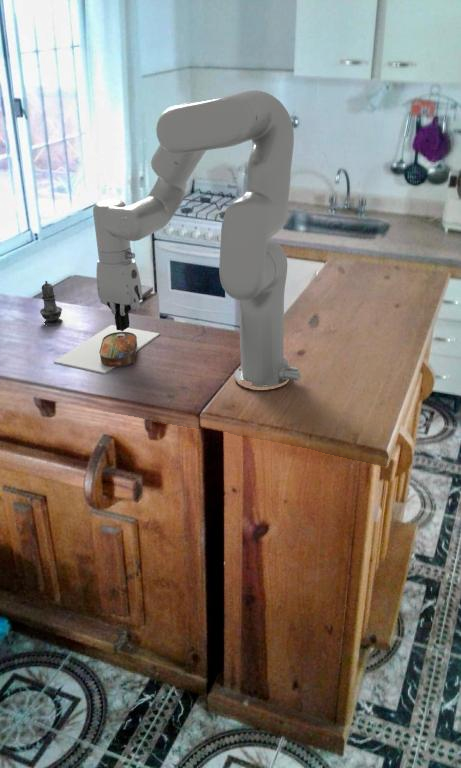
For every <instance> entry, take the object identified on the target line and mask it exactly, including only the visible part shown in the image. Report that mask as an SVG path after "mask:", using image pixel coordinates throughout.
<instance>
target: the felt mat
mask: <svg viewBox="0 0 461 768" xmlns="http://www.w3.org/2000/svg"><path fill="white" fill-rule="evenodd" d="M116 332H130V333H133V334H135V335H136V337H137V349H136V352H138V351H140V349H142V348H144V346H146V345H147V344H149V343H150V342H152V341H153V340H154V339H156V338H157V337H159V336H160V332H159V333H158V332H152V331H148V330H142V329H137V328H131V327H128V328H127V329H125V330H124V331H120V330H117V329H116V324H114V325H113V324H111V325H108V326H107V327H106V328H104V329H103V330H101V331H99V332H98V333H96V334H95V335H93V336H91V337H90V338H89V339H86V340H85V341H83V342H82V343H80V344H79V345H77V346H75V348H73V349H71V350H69V351H68V352H66V353H64V354H63V355H62V356H60V357H58V358H56V359H55V360H53V363H54V364H57V365H63V366H67V367H70V368H75V369H76V368H77V369H81V370H85V371H89V372H90V371H91V372H96V373H100V374H107V373H109V372H110V371H111V370H114V368H116V367H117V366H111V367H109V366H105V365H104V364H102V362H101V358H100V353H99V352H100V348H101V344H102V340H103V338H104V337H105V336H107V335H109V334H111V333H116Z"/></svg>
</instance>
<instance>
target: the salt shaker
mask: <svg viewBox="0 0 461 768" xmlns="http://www.w3.org/2000/svg"><path fill="white" fill-rule="evenodd" d="M41 293H42V297H41V299H42V300H43V308H41V309H40V311H39V313H40V314H41V316H42V318H43V319H44V321H45V322H44V321H43V322H44V323H45V325H47V326H46V327H57V326H60V325H62V324H63V322H64V321H63V319H62V318H61V315H62V311H63V308H62V307H60V306H58V305H57V303H56V295H55V294H54V293H55V292H54V287H53V284H51V283H49V282H48V281H47V280H45V282H44V283H43V284H42V286H41ZM45 325H44V326H45Z"/></svg>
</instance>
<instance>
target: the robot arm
mask: <svg viewBox="0 0 461 768" xmlns="http://www.w3.org/2000/svg"><path fill="white" fill-rule="evenodd" d="M155 130H156V137H157V140H158V143H159V145H158V147H157V149H156V151H154V154H153V155H152V157H151V161H150V164H151V166H150V167H151V169H152V170H153V172H154V173H155V175H156V176H157V180H156V181H155V184H154V185H153V187H152V189H151V190H150V192H149V194H148V195H147V197H145V198H144V199H141V200H139V201H137V202H133V203H131V204H129V205H127V204H125V202H124V201H122V200H119V199H113V198H112V199H103V200H100V201H97V202H95V204H94V205H93V207H92V215H93V222H94V229H95V231H94V232H95V238H96V245H97V246H96V248H97V254H98V255H97V257H98V260H97V263H96V289H97V290H96V291H97V295H98V298H99V299H100V303H101V304H102V305H104V306H107V307H108V308H109V309H110V310H111V314H113V315H114V322H115V324H114V325H115V326H116V329H117V330H120V331H124V330H125V329H127V328H130V316H129V313H131V311H132V310H138V309H139V308H141V303H140V300H142V298H143V288H142V282H141V276H140V272H139V267H138V265H137V262H136V260H135V258H136V253H135V252H132V248H131V242H138V241H140V240H142V239H144V238H146V237H149V236H150V235H152V234H154V233H156V232H159V231H161V230H162V229H163V228H165V227H166V226H167V225H168V224H169V223H170V221H171V220H172V219H173V217H174V215H175V214H176V213H177V211H178V209H179V208H180V206H181V204H182V202H183V201H184V198H185V196H186V191H187V185H188V184H187V183H188V180H189V179H190V177H191V176H192V174H193V172H194V171H195V169H196V168H197V165H198V164H199V162H200V161H201V159H202V158H203V156H205V153H206V152H207V151H210V150H218V149H224V148H225V149H226V148H231V147H234V146H237V145H241V144H243V143H246V142H249V141H251V142H252V144H251V145H252V146H251V151H250V154H249V159H248V162H247V167H246V183H245V190H244V194H243V195H242V196H241V197H239V198H237V199H235V200H234V201H233V202H232V203H230V205H229V206H228V207H227V209H226V211H225V213H224V215H223V218H222V223H221V231H220V248H219V249H220V250H219V267H218V268H219V269H218V271H219V272H218V273H219V280H220V284H221V286H222V288H223V290H224V292H225V293H226V294H227V295H228V296H229V298H232V299H234V300H236V301H239V302H238V303H239V308H238V311H239V313H238V314H239V342H240V343H239V344H240V345H239V348H240V366H239V367H238V368H237V369H236V370H235V371H234V374H233V375H234V377H235V379H237V381H239V382H241V381H240V380H246V381H249V382H252V385H251V386H255V387H271V386H276V385H279V384H282V383H284V382H286V381H287V380H288V379H290V381H296V382H299V381H300V379H301V371H300V368H299V367H295V366H290V365H289V362H288V361H289V360H288V359H289V358H286V357H285V356H284V349H285V348H284V337H285V335H284V334H285V333H284V332H285V331H284V327H285V326H284V324H285V323H284V321H285V319H284V315H285V309H284V308H285V289H286V281H287V276H288V258H287V254H286V252H285V250H284V248H283V246H282V245H281V244H280V243H278V242H277V241H275V240H273V239H272V237H274V236H275V235H276V234H278V233H280V231H281V230H282V229H283V228H284V226H285V225H286V222H287V217H288V211H289V210H288V208H289V207H288V206H289V196H290V189H291V187H290V186H291V173H292V163H293V153H294V146H295V145H294V142H295V141H294V140H295V135H294V125H293V121H292V118H291V116H290V114H289V111H288V110H287V108H286V107H285V106H284V104H283V103H282V102H281V101H280V100H279V99H278V98H276V97H275V96H274V95H272V94H270V93H268V92H265V91H262V90H254V89H253V90H246V91H242V92H238V93H236V94H230V95H227V96H223V97H220V98H215V99H209V100H205V101H189V102H185V103H181V104H177V105H173V106H169V107H168V108H167V109H165V110H164V111H163V112H162V113H161V115H160V116H159V118H158V121H157V123H156V128H155ZM284 357H285V358H284ZM234 377H233V378H234ZM286 378H287V379H286ZM235 379H234V380H235ZM241 383H242V382H241ZM245 383H246V382H245ZM263 385H267V386H263Z"/></svg>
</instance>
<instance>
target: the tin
mask: <svg viewBox="0 0 461 768" xmlns="http://www.w3.org/2000/svg"><path fill="white" fill-rule="evenodd" d="M136 349H137V337H136V335H135V334H133V333H130V332H116V333H111V334H109V335H107V336H105V337H104V338H103V340H102V344H101V348H100V352H99V353H100V358H101V362H102V364H104V365H105V366H109V367H111V366H116V367H125V366H128V365H131V364H133V363H134V361H135V359H136V352H137V351H136Z"/></svg>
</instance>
